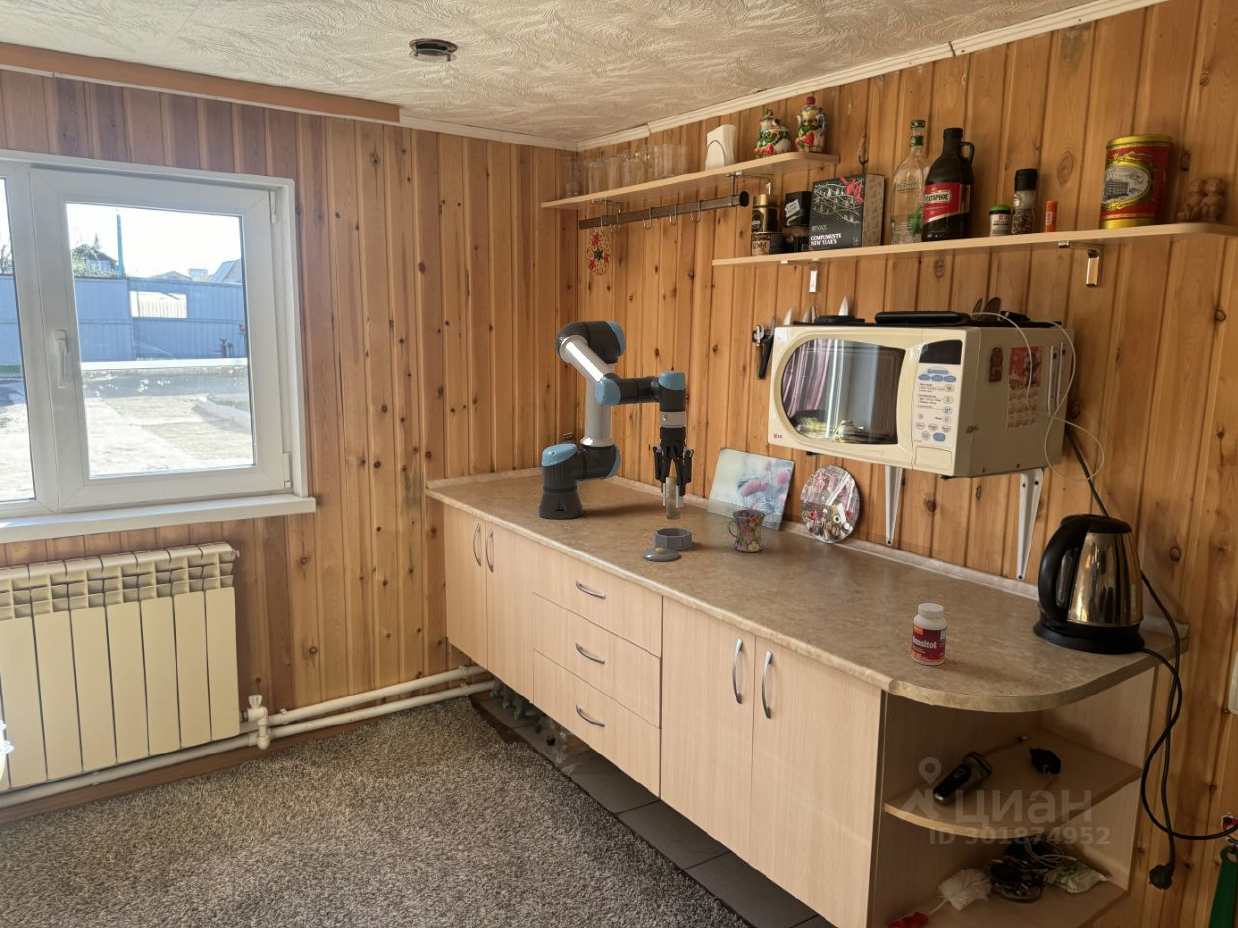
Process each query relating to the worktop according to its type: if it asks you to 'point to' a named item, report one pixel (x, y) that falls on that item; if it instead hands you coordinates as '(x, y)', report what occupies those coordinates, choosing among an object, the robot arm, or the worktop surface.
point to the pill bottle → (929, 635)
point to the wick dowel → (671, 499)
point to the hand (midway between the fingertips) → (673, 505)
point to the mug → (748, 530)
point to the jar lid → (660, 554)
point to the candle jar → (673, 538)
